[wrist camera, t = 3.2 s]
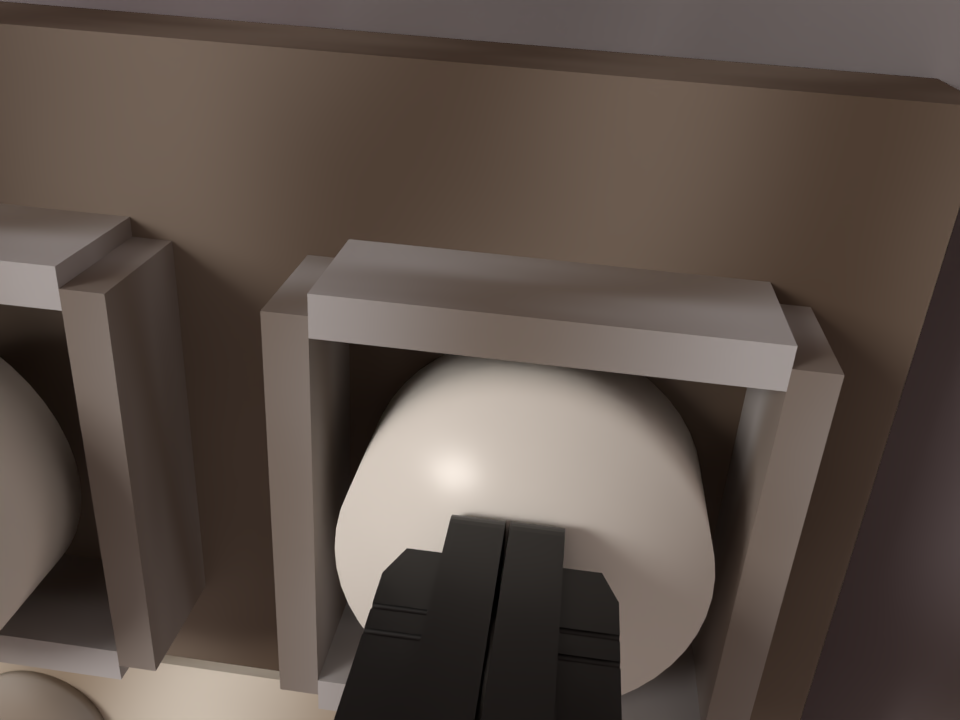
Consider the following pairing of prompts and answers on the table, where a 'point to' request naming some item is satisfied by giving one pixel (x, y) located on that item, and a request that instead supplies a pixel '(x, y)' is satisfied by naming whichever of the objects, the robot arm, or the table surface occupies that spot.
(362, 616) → the button
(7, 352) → the button board
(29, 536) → the middle button
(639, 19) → the table surface
